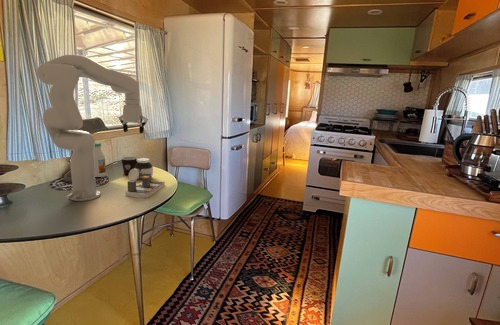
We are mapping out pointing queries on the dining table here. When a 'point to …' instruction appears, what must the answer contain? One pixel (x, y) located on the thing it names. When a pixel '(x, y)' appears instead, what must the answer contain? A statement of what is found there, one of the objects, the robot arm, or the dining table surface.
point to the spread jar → (141, 169)
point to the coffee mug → (128, 164)
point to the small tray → (143, 188)
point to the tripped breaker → (146, 181)
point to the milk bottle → (99, 161)
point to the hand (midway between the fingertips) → (133, 132)
